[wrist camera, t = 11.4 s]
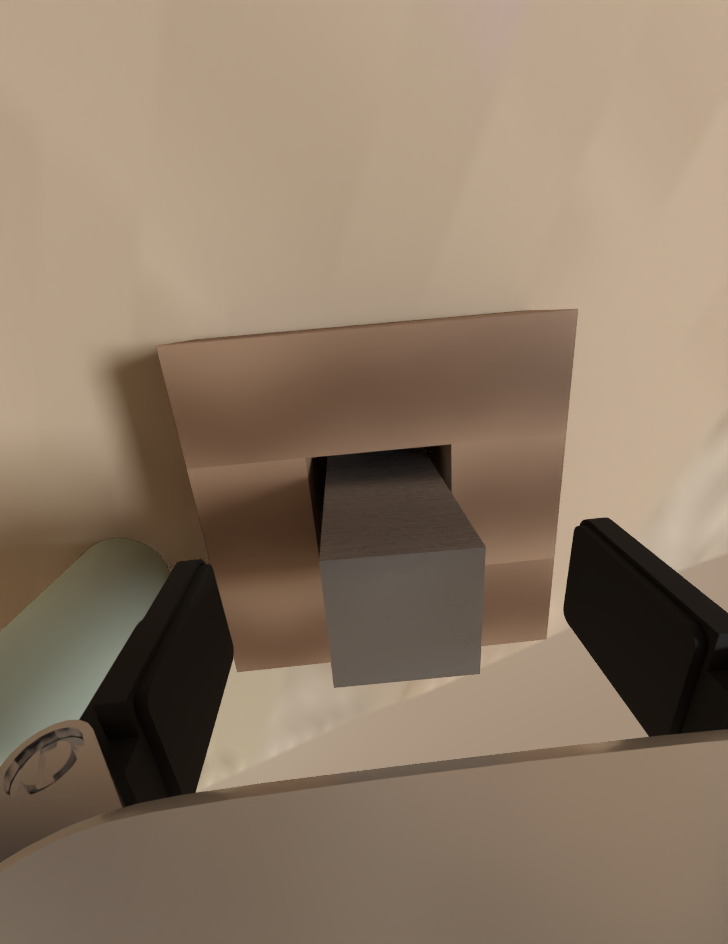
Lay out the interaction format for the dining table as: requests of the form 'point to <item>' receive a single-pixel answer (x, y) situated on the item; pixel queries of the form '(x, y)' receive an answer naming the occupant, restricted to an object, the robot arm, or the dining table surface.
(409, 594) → the square peg
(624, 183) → the dining table surface
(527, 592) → the socket block
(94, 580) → the round peg
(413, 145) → the dining table surface
